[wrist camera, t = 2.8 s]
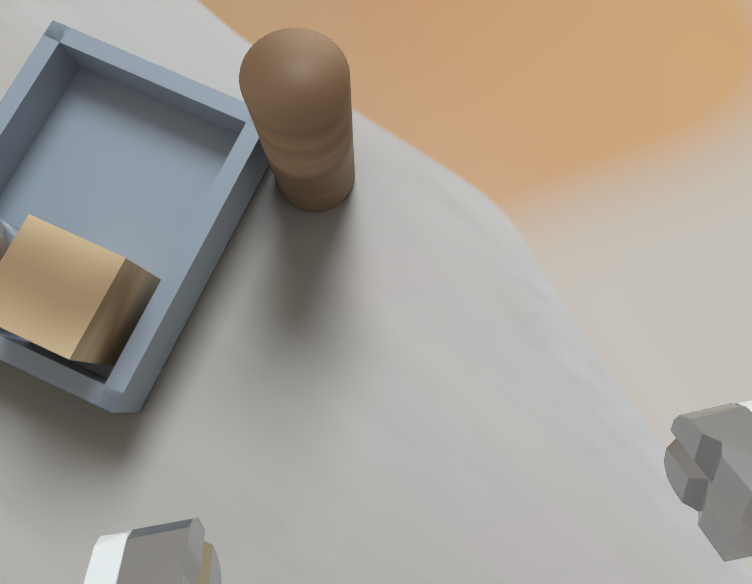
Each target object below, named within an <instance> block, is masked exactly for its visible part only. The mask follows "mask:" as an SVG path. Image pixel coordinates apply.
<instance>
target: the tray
mask: <svg viewBox="0 0 752 584" xmlns="http://www.w3.org/2000/svg"><path fill="white" fill-rule="evenodd" d="M268 165H269V161H268V159H267V156H266V154H265V151H264V149H263V146H262V144H261V141H260V139H259V136H258V133H257V131H256V128H255V126H254V123H253V121H252V118H251V116H250V113H249V111H248V108H247V106H246V103H245V102H243V101H240V100H238V99H236V98H233V97H231V96H229V95H226V94H224V93H222V92H219V91H217V90H215V89H212V88H210V87H208V86H205V85H203V84H201V83H198V82H196V81H194V80H191V79H189V78H187V77H184V76H182V75H180V74H177V73H175V72H173V71H170V70H168V69H166V68H163V67H161V66H159V65H156V64H154V63H152V62H149V61H147V60H145V59H142V58H140V57H138V56H135V55H133V54H131V53H128V52H126V51H123V50H121V49H119V48H116V47H114V46H112V45H109V44H107V43H105V42H102V41H100V40H98V39H95V38H93V37H91V36H88V35H86V34H84V33H81V32H79V31H77V30H74V29H72V28H70V27H67V26H65V25H63V24H60V23H58V22H56V21H52V22H51V24H50V25H49V27H48V28H47V30H46V32H45V33H44V35H43V36H42V38H41V39H40V41H39V42H38V44H37V46H36V47H35V49H34V50H33V52H32V53H31V55H30V57H29V58H28V60H27V61H26V63H25V64H24V66H23V67H22V69H21V71H20V72H19V74H18V75H17V77H16V78H15V80H14V81H13V83H12V85H11V86H10V88H9V89H8V91H7V92H6V94H5V95H4V97H3V99H2V100H1V102H0V218H1V219H3V220H5V221H7V222H9V223H11V224H13V225H15V226H17V227H19V228H21V226H22V225H23V223H24V221H25V220H26V218H27V216H28V215H29V214H30V215H32V216H34V217H37V218H39V219H41V220H43V221H45V222H48V223H50V224H52V225H54V226H57V227H59V228H61V229H63V230H65V231H68V232H70V233H72V234H74V235H76V236H79V237H81V238H83V239H85V240H87V241H90V242H92V243H94V244H96V245H98V246H101V247H103V248H105V249H107V250H109V251H112V252H114V253H116V254H118V255H120V256H123V257H125V258H127V259H128V260H130V261H132V262H133V263H135V264H137V265H138V266H140V267H141V268H143V269H145V270H146V271H148V272H150V273H151V274H153V275H154V276H156V277H158V278H159V279H161V281H160V283H159V285H158V287H157V289H156V290H155V292H154V294H153V296H152V298H151V300H150V302H149V303H148V305H147V307H146V309H145V311H144V313H143V315H142V316H141V318H140V320H139V322H138V324H137V326H136V327H135V329H134V331H133V333H132V335H131V337H130V339H129V340H128V342H127V344H126V346H125V348H124V350H123V352H122V353H121V355H120V357H119V359H118V361H117V363H116V365H115V366H108V365H102V364H95V363H88V362H82V361H75V360H69V359H67V358H65V357H63V356H60V355H58V354H56V353H54V352H52V351H50V350H48V349H46V348H43V347H41V346H39V345H37V344H35V343H33V342H31V341H29V340H26V339H24V338H22V337H20V336H18V335H16V334H14V333H12V332H9V331H7V330H5V329H3V328H1V327H0V360H2V361H4V362H6V363H8V364H10V365H12V366H14V367H16V368H18V369H21V370H23V371H25V372H27V373H29V374H31V375H33V376H35V377H37V378H39V379H42V380H44V381H46V382H48V383H50V384H52V385H54V386H56V387H58V388H61V389H63V390H65V391H67V392H69V393H71V394H73V395H75V396H77V397H80V398H82V399H84V400H86V401H88V402H90V403H92V404H94V405H96V406H99V407H101V408H103V409H105V410H107V411H109V412H111V413H131V412H140V410H141V408H142V406H143V405H144V403H145V401H146V399H147V397H148V395H149V393H150V391H151V389H152V387H153V385H154V383H155V382H156V380H157V378H158V376H159V374H160V372H161V370H162V368H163V366H164V364H165V362H166V360H167V359H168V357H169V355H170V353H171V351H172V349H173V347H174V345H175V343H176V341H177V339H178V338H179V336H180V334H181V332H182V330H183V328H184V326H185V324H186V322H187V320H188V318H189V316H190V315H191V313H192V311H193V309H194V307H195V305H196V303H197V301H198V299H199V297H200V295H201V293H202V292H203V290H204V288H205V286H206V284H207V282H208V280H209V278H210V276H211V274H212V272H213V271H214V269H215V267H216V265H217V263H218V261H219V259H220V257H221V255H222V253H223V251H224V249H225V248H226V246H227V244H228V242H229V240H230V238H231V236H232V234H233V232H234V230H235V228H236V227H237V225H238V223H239V221H240V219H241V217H242V215H243V213H244V211H245V209H246V207H247V205H248V204H249V202H250V200H251V198H252V196H253V194H254V192H255V190H256V188H257V186H258V184H259V182H260V181H261V179H262V177H263V175H264V173H265V171H266V169H267V167H268Z"/></svg>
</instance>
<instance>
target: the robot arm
mask: <svg viewBox="0 0 752 584" xmlns="http://www.w3.org/2000/svg"><path fill="white" fill-rule="evenodd" d="M671 431H672V433H673V434H674V435H675V437H676V439H675V440H674V441H673V442H672V443H671V444H670V445H669V446H668V447H667V448H666V452H665V458H664V465H665V469H666V474H667V478H668V480H669V482H670V484H671V486H672V488H673V490H674V491H675V493H676V494H677V496H678V497H679V499H680V500H681V502H683V503H685V504H686V505H688V506H690V507H692V508H693V509H695V510H697V511H699V512H698V526H699V527H700V529H701V530H702V531H703V533H704V534H705V536H706V537H707V538H708V540H709V541H710V543H711V544H712V545H713V547H714V548H715V550H716V551H717V552H718V554H719V555H720V557H721V558H722V559H723V561H724V562H725V561H730V560H735V559H740V558H745V557H750V556H752V400H749V401H744V402H741V403H736V404H727V405H722V406H718V407H713V408H709V409H704V410H701V411H696V412H691V413H687V414H682V415H679V416H678V417H677V418H676V419H675V420H674V421H673V425H672V428H671ZM204 532H205V529H204V527H203V525H202V523H201V522H200V520H199V518H193V519H188V520H182V521H177V522H172V523H166V524H161V525H156V526H151V527H145V528H140V529H135V530H129V531H124V532H119V533H114V534H109V535H105V536H100V538H99V540H98V541H97V543H96V544H95V546H94V547H93V550H92V553H91V557H90V560H89V564H88V567H87V571H86V574H85V578H84V581H83V584H221V571H220V564H219V560H218V556H217V553H216V551H215V549H214V547H213V545H212V544H210V543H207V542H205V541H204Z"/></svg>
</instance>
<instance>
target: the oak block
mask: <svg viewBox="0 0 752 584" xmlns="http://www.w3.org/2000/svg"><path fill="white" fill-rule="evenodd" d="M160 281H161V279H159V278H158V277H156V276H154V275H153V274H151V273H150V272H148V271H146V270H145V269H143V268H141V267H140V266H138V265H137V264H135V263H133V262H132V261H130V260H128V259H127V258H125V257H123V256H120V255H118V254H116V253H114V252H112V251H109V250H107V249H105V248H103V247H101V246H98V245H96V244H94V243H92V242H90V241H87V240H85V239H83V238H81V237H79V236H76V235H74V234H72V233H70V232H68V231H65V230H63V229H61V228H59V227H57V226H54V225H52V224H50V223H48V222H45V221H43V220H41V219H39V218H37V217H34V216H32V215H30V214H29V215H28V216H27V218H26V220H25V221H24V223H23V225H22V226H21V228H20V230H19V231H18V233H17V235H16V236H15V238H14V239H13V241H12V243H11V244H10V246H9V248H8V249H7V251H6V253H5V254H4V256H3V258H2V259H1V261H0V327H1V328H3V329H5V330H7V331H9V332H12V333H14V334H16V335H18V336H20V337H22V338H24V339H26V340H29V341H31V342H33V343H35V344H37V345H39V346H41V347H43V348H46V349H48V350H50V351H52V352H54V353H56V354H58V355H60V356H63V357H65V358H67V359H69V360H75V361H82V362H88V363H95V364H102V365H108V366H115V365H116V363H117V361H118V359H119V357H120V355H121V353H122V352H123V350H124V348H125V346H126V344H127V342H128V340H129V339H130V337H131V335H132V333H133V331H134V329H135V327H136V326H137V324H138V322H139V320H140V318H141V316H142V315H143V313H144V311H145V309H146V307H147V305H148V303H149V302H150V300H151V298H152V296H153V294H154V292H155V290H156V289H157V287H158V285H159V283H160Z"/></svg>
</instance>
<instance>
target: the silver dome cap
mask: <svg viewBox="0 0 752 584" xmlns="http://www.w3.org/2000/svg"><path fill="white" fill-rule="evenodd" d="M19 230H20V228H19V227H17V226H15V225H13V224H11V223H9V222H7V221H5V220H3V219H1V218H0V261H1V259H2V258H3V256H4V254H5V253H6V251H7V249H8V248H9V246H10V244H11V243H12V241H13V239H14V238H15V236H16V235H17V233H18V231H19Z"/></svg>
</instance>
